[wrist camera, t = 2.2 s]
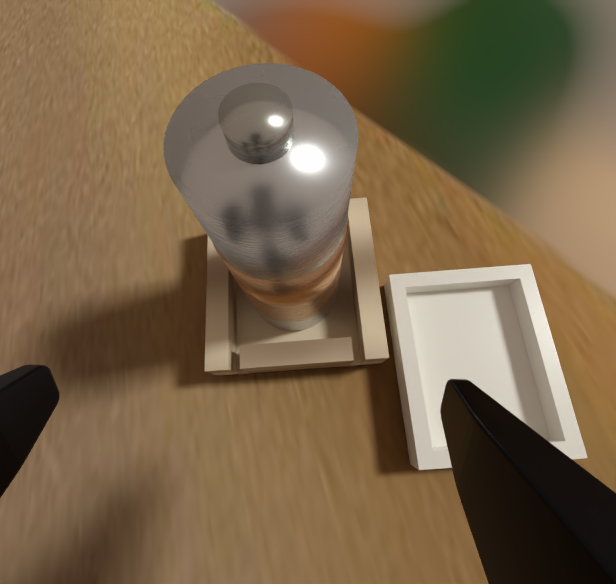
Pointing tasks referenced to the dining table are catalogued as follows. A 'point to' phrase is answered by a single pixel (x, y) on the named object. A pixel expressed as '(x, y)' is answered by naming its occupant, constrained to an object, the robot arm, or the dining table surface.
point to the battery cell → (270, 183)
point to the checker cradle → (306, 343)
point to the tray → (476, 354)
